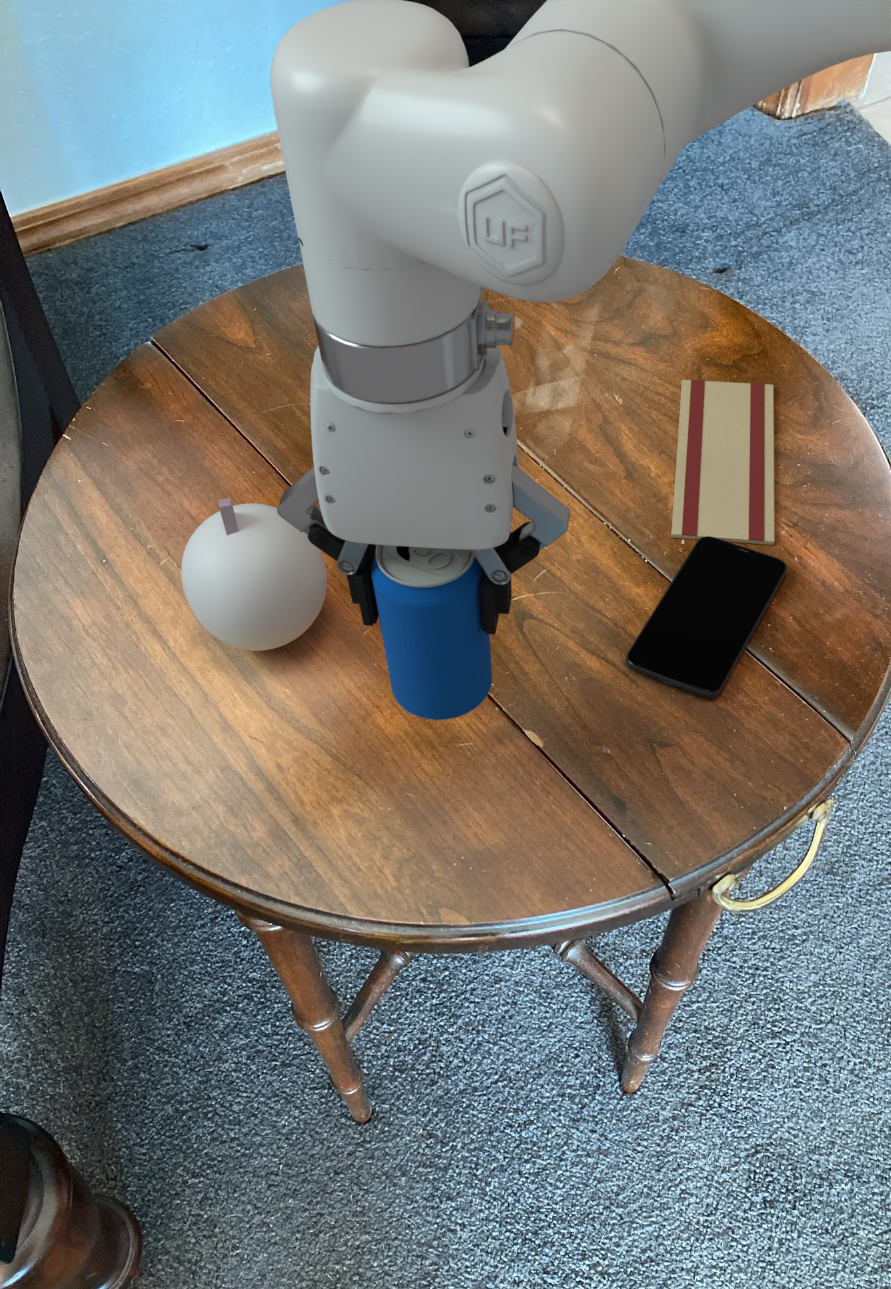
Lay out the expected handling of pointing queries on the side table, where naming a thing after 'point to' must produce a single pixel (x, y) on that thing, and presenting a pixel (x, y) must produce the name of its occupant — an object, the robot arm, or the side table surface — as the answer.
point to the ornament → (253, 577)
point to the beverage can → (432, 629)
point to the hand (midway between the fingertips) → (433, 610)
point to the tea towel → (725, 462)
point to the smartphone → (707, 616)
